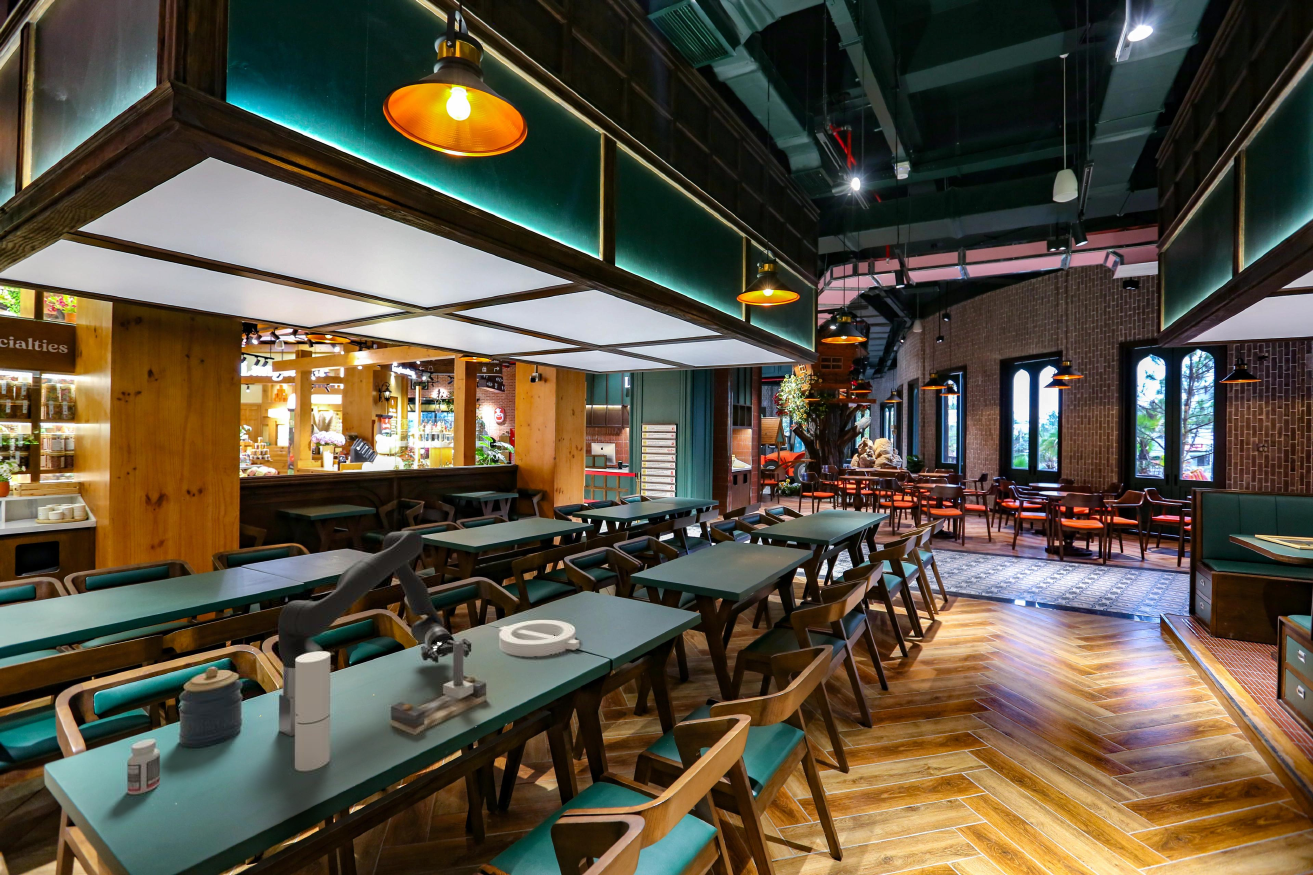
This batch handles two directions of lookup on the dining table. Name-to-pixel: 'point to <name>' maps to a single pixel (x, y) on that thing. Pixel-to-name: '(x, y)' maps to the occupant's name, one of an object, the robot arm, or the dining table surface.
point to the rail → (442, 713)
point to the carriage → (458, 675)
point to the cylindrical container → (312, 710)
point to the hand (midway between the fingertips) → (452, 656)
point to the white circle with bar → (537, 638)
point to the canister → (210, 708)
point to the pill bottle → (143, 767)
